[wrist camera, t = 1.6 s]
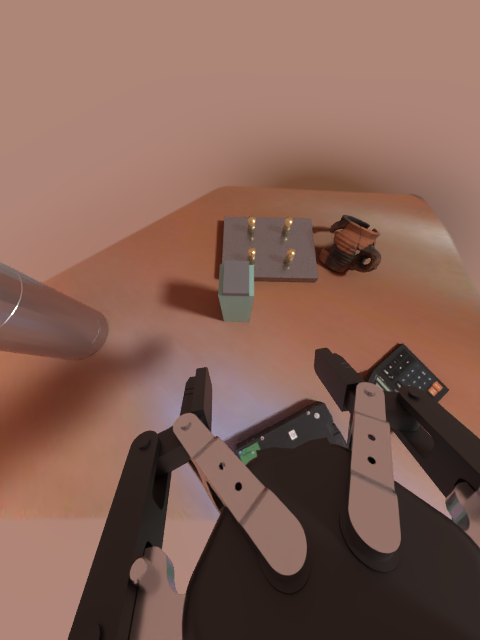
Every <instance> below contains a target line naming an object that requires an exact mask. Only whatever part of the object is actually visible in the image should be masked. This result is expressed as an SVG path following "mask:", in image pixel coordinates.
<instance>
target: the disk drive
mask: <svg viewBox="0 0 480 640" xmlns="http://www.w3.org/2000/svg"><path fill="white" fill-rule="evenodd" d="M325 437H327V439H328V440H329V442H330V443H333V444H337V445H340V446H343V447H345V448H346V447H347V443H346V441H345V440H344V437H343V436H342V434H341V432H340V431H339V429H338V428H337V427H336V425H335V424H334V423H333V420H332V416H331V414H330V412H329V410H328V408H327V407H326V405H325V403H323V402H319V401H317V402H316V403H314V404H312V405H309V406H307V407H305V408H304V409H303V410H301V411H299V412H297V413H295V414H293V415H292V416H290V417H288V418H286V419H284V420H282V421H280V422H279V423H277V424H275V425H273V426H271V427H269V428H267V429H266V430H264V431H262V432H260V433H258V434H256V435H253V436H251V437H249V438H248V439H247V440H245V441H243V442H241V443H239V444H237V445H236V448H235V452H236V454H237V457H238V458H239V459H240V460H241V462H242V463H243V464H244V465H246V464H247V463H248V462H249V461H250V460H252V459H253V458H255V457H257V454H256V450H261V449H266V448H271V447H279V448H290V449H293V448H296V447H298V446H300V445H302V444H304V443H305V442H307V441H309V440H314V439H319V438H325Z"/></svg>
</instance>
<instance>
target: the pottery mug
mask: <svg viewBox="0 0 480 640" xmlns="http://www.w3.org/2000/svg"><path fill="white" fill-rule="evenodd" d="M368 227H370V225H369V224H367V223H365V222H363V221H361V220H359V219H357V218H354V217H351V216H348V215H343V217H342V218H341V220H340V221H338V222H336V223H334V224H333V225H332V226H331V228H330V232H333V231H335V230H338V229H343V230H341V231H340V232H339V233H337V234H336V235H335V237H334V243H335V244H334V245H333V247H332V249H331V252H328V251H327V250H326V249H322V251H321V253H320V255H319V260H320V261H321V262H322V263H323V264H325V265H326V266H327V267H329V268H330V269H332V270H334V271H336V272H340V273H342V272H344V271H345V270H346V269H348V268H349V267H350V270H356V271H359V272H370V271H372V270H374V269H376V268H377V266H378V265H379V264H380V262H381V255H380V253H379V252H378V251H377V250H376V249H375V247H374V245H375V244H376V238H377V237H378V236H379V235H380V233H379V232H378V231H377V230H376V229H373V230H372V231H371V230H368ZM356 250H361V251H360V253H359V254H356V255H355V252H356ZM368 258H371V261H370V263H369V264H366V265H364V264H363V263H364V262H365V260H366V259H368Z"/></svg>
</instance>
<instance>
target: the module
mask: <svg viewBox="0 0 480 640" xmlns="http://www.w3.org/2000/svg"><path fill="white" fill-rule="evenodd" d="M218 297H219V301H220V306H221V310H222V315H223V319H224V321H228V322H249V320H250V314H251V309H252V304H253V299H254V265H249V261H231V260H224V264H220V271H219V289H218Z"/></svg>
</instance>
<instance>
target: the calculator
mask: <svg viewBox="0 0 480 640" xmlns="http://www.w3.org/2000/svg"><path fill="white" fill-rule="evenodd" d="M365 382H368V383H372V384H374V385H376V386H378V387H379V388H381V389H382V390H383V391H393V392H398V391H399V388H400V387H402V386H413V387H416V388H419V389H421V390H423V391H424V392H426V393H427V394H428V395H429V396H430V397H432V398H433V399H434V400H435V401H436V402H438V401H439V400H440V399H441V398H442V397H443V396H444V395H445V394H446V393H447V392H448V391H449V389H448V388H447V387H446V386H445V385H444V384H443V383H442V382H441V381H440V380H439V379H438V378H437V377H436V376H435V375H434V374H433V373H432V372H431V371H430V370H429V369H428V368H427V367H426V366H425V365H424V364H423V363H422V362H421V361H420V360H419V359H418V358H417V357H416V356H415V355H414V354H413V353H412V352H411V351H410V350H409V349H408V348H407V347H406V346H405V345H404V344H400V345H399V346H398V347H397V348H395V349H394V350H393V351H392V352H391V353H390V354H389V355H388V356H387V357H386V358H384V359H383V360H382V361H381V362H380V363H379V364H378V365H377V366H376V367H374V368H373V369H372V370H371V371H370V372H369V374H368V376H367V377H366V379H365Z"/></svg>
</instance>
